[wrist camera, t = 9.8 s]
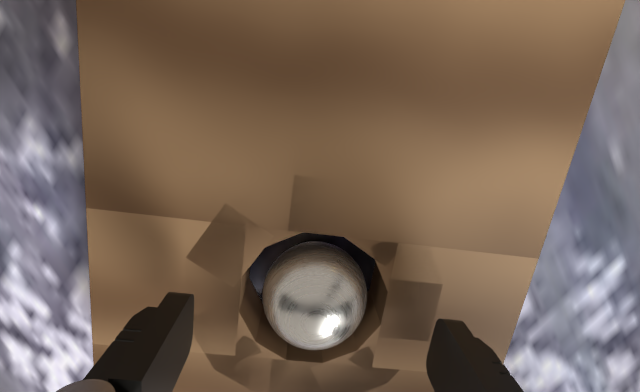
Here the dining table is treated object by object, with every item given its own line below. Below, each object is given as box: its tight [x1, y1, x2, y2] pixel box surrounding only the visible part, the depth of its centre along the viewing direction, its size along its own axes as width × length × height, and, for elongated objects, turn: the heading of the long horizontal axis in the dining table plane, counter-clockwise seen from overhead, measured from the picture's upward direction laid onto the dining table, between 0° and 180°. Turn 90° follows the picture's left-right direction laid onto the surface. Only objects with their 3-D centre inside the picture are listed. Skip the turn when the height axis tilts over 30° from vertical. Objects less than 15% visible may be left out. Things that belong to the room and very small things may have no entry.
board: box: [76, 0, 625, 392], centre depth 13 cm, size 20×16×2 cm
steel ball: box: [262, 241, 367, 350], centre depth 14 cm, size 4×4×4 cm
